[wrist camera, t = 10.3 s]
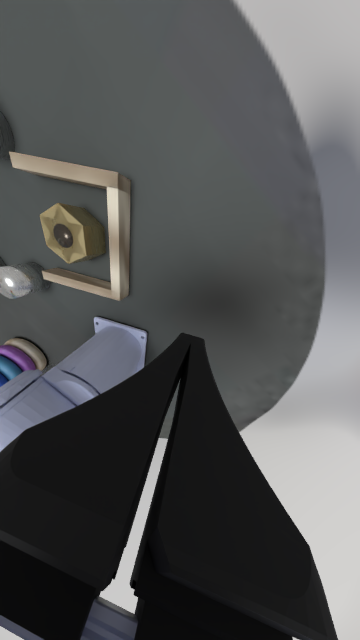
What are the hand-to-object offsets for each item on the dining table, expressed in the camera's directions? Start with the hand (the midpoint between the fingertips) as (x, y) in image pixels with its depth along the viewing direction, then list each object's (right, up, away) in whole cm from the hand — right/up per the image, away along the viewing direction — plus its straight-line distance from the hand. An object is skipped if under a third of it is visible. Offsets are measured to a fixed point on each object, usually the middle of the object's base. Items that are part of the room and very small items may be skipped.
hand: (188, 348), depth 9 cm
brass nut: (-11, +11, +8) cm, 17 cm away
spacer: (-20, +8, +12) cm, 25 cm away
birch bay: (-11, +11, +8) cm, 17 cm away
